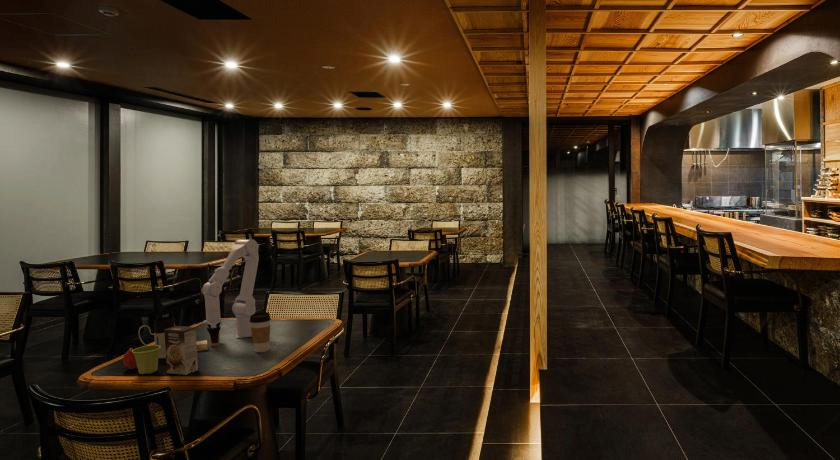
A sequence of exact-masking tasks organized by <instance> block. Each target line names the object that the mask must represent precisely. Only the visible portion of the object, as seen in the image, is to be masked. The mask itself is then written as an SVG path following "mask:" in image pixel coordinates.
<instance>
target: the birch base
mask: <svg viewBox="0 0 840 460" xmlns="http://www.w3.org/2000/svg"><path fill="white" fill-rule="evenodd" d="M196 342H197V352H201V351H208V349H209V348H208V340H207V339H205V340H196Z"/></svg>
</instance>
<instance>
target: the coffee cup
mask: <svg viewBox="0 0 840 460" xmlns="http://www.w3.org/2000/svg"><path fill="white" fill-rule="evenodd" d="M271 320H272V319H271V316H270V312H268V311H261V312H255V313H254V314H253V315H251V316H250V321H249V322H251V332H252V336H251V338H252V344H253V350H254V352H255V353H263V352H264V353H265V352H269V350H270V339H271V337H270V336H271V323H270V322H271Z"/></svg>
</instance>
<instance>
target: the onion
mask: <svg viewBox="0 0 840 460" xmlns="http://www.w3.org/2000/svg"><path fill="white" fill-rule="evenodd" d="M132 350H134V349H133V348H132V347H130V348H129V349H128V350H127V351H126V352H125V354H124V355H123V357H122V363H123V365H124V366H126V367H127V368H129V369H130V370H134V369H135V368H136V367H137V363H136V359H135V356H134V354H133V353H132Z"/></svg>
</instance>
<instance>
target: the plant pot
mask: <svg viewBox="0 0 840 460" xmlns="http://www.w3.org/2000/svg"><path fill="white" fill-rule="evenodd" d="M160 348H161V346H159V345H155V344H151V345H147V346H145V345H144V346H140V347H136V348H134V349H133V350H132V353H133V354H134V356H135V359H136V363H137V366H136V367H137V370H138V371H137V372H138V374H139V375H145V374H148V375H149V374H152V373H155V372H157V371H158V366H159V365H158V364H159V358H158V354H159V350H160Z"/></svg>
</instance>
